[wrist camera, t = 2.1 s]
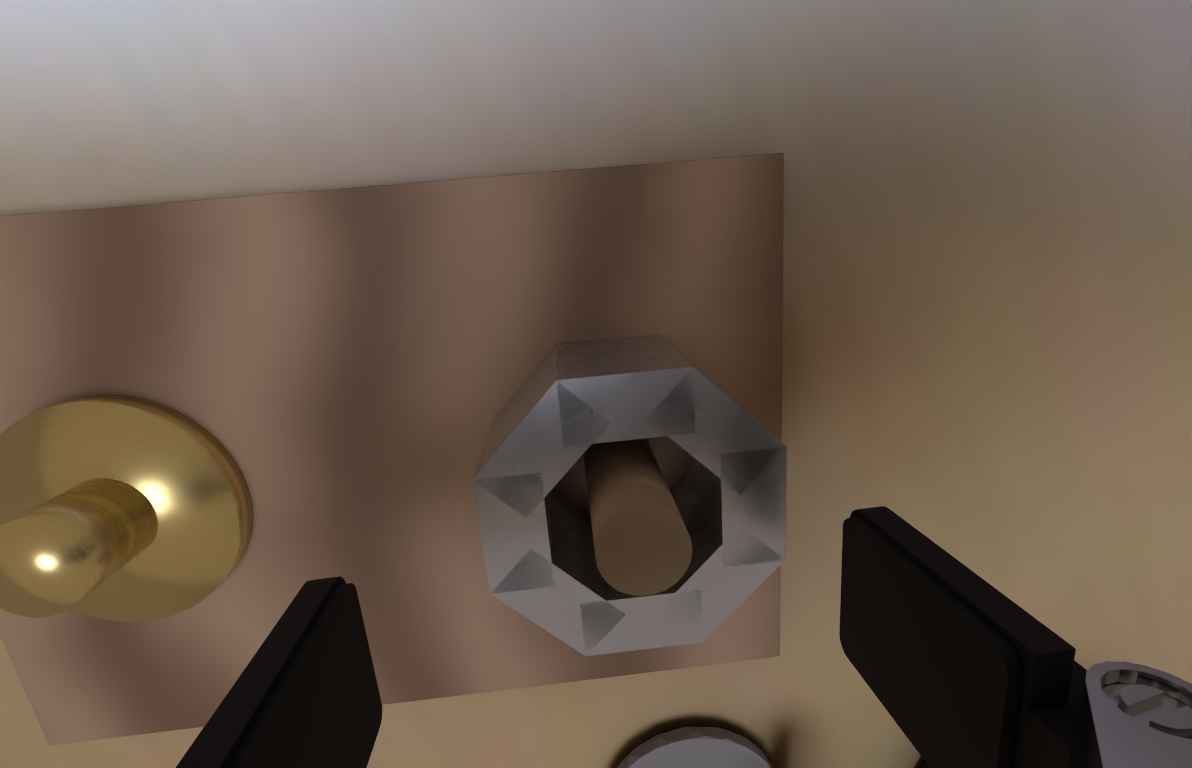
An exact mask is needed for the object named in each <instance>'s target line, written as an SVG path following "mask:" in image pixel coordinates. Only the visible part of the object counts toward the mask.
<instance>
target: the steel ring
mask: <svg viewBox="0 0 1192 768" xmlns="http://www.w3.org/2000/svg"><path fill="white" fill-rule="evenodd" d="M663 436H668V437H669V438H670V439H672V440H673V441H674V442H675V443H677V444H678V445H679V446H680V447H682V448H683V452H684V474H683V475H682V476H681V477H680V478H679V479H678V480H677V481H676V482H675V483H674V484H673V485H672V486H671V488H670V489H669V490H670V492H671V495H672V497H673V499H674V501H675V504H676V506H677V508H678V511H679V513H680V515H681V517H682V520H683V522H684V524H685V526H686V529H687V531H688V533H689V536H690V538H691V542H692V558H691V562H690V565H689V567H688V569H687V571H686V572H685V574H684V575H683V576H682V578H681V579H680V580H679V581H678V582H677V583H675V584H674V585H673V586H671V587H670V588H668V589H666V590H664V591H662V592H659V593H656V594H652V595H646V596H636V595H629V594H626V593H623V592H620V591H618V590H616V589H615V588H613V587H612V586H610V585H609V584H608V583H607V582H606V581H605V580H604V578H603V577H602V576H601V574H600V572H599V570H598V567H597V563H596V556H595V548H594V540H593V531H592V523H591V515H590V513H589V512H587V511H586V510H584V509H583V508H582V507H580V506H579V505H578V504H576V503H575V502H573V501H572V500H571V499H569V498H568V497H567V496H565V495H564V494H563V493H561V492H560V491H558V490H557V489H556V488H554V486H555V485H556V484H557V483H558V482H559V481H560V480H561V478H562V477H563V476H564V475H565V474H566V473H567V472H568V470H569V469H570V468H571V467H572V466H573V465H574V464H575V462H576V461H577V460H578V459H579V458H580V457H581V456H582V455H583V453H584V452H585V451H586V450H587V449H588V448H589V447H590V445H591V444H595V443H605V442H614V441H624V440H634V439H643V438H653V437H663ZM472 481H473V488H474V494H475V500H476V507H477V513H478V520H479V526H480V532H481V539H482V545H483V551H484V558H485V564H486V571H487V577H488V583H489V590H490V594H491V595H493V596H494V597H496V598H497V599H499V600H500V601H502V602H503V603H505V604H506V605H508V606H509V607H511V608H512V609H514V610H516V611H517V612H519V613H520V614H522V615H523V616H525V617H526V618H528V619H529V620H531V621H532V622H534V623H535V624H537V625H538V626H540V627H542V628H543V629H545V630H546V631H548V632H549V633H551V634H552V635H554V636H555V637H557V638H558V639H560V640H561V641H563V642H564V643H566V644H568V645H569V646H571V647H572V648H574V649H575V650H577V651H578V652H580V653H581V654H583V655H584V656H593V655H601V654H610V653H618V652H626V651H634V650H643V649H651V648H659V647H668V646H676V645H684V644H693V643H701V642H704V641H705V640H706V639H707V638H708V637H709V636H710V635H711V634H712V633H713V632H714V631H715V630H716V629H717V628H718V627H719V626H720V625H721V624H722V623H723V622H724V621H725V620H726V619H727V618H728V617H729V616H730V615H731V614H732V613H733V612H734V611H735V610H736V609H737V608H738V607H739V606H740V605H741V604H742V603H743V602H744V601H745V600H746V599H747V598H748V597H749V596H750V595H751V594H752V593H753V592H754V591H755V590H756V589H757V588H758V587H759V586H760V585H761V584H762V583H763V582H764V581H765V580H766V579H767V578H768V577H769V576H770V575H771V574H772V573H773V572H774V571H775V570H776V569H777V568H778V567H779V566H780V565H781V564H782V563H783V562H784V561H785V539H786V446H785V445H784V444H783V443H782V442H781V441H780V440H779V439H778V438H776V437H775V436H774V435H773V434H772V433H771V432H770V431H769V430H768V429H767V428H766V427H765V426H764V425H762V424H761V423H760V422H759V421H758V420H757V419H756V418H755V417H754V416H753V415H752V414H751V413H749V412H748V411H747V410H746V409H745V408H744V407H743V406H742V405H741V404H740V403H739V402H738V401H736V400H735V399H734V398H733V397H732V396H731V395H730V394H729V393H728V392H726V391H725V390H724V389H723V388H722V387H721V386H719V385H718V384H717V383H716V382H715V381H713V380H712V379H711V378H710V377H709V376H708V375H706V374H705V373H704V372H703V371H702V370H701V369H699V368H698V367H697V366H696V365H695V364H694V363H692V362H691V361H690V360H689V359H688V358H687V357H685V356H684V355H683V354H682V353H681V352H680V351H678V350H677V349H676V348H675V347H674V346H673V345H671V344H670V343H669V342H668V341H667V340H666V339H664V338H663V337H662V336H661V335H660V334H654V335H643V336H633V337H622V338H612V339H601V340H591V341H580V342H570V343H559V344H556V345H555V346H554V347H553V349H552V350H551V351H550V352H549V353H548V355H547V356H546V357H545V358H544V359H543V361H542V362H541V363H540V364H539V365H538V367H537V368H536V369H535V370H534V371H533V373H532V374H531V375H530V376H529V377H528V379H527V380H526V381H525V382H524V383H523V385H522V386H521V387H520V388H519V389H518V391H517V392H516V393H515V394H514V395H513V397H512V398H511V399H510V400H509V401H508V403H507V404H506V405H505V406H504V407H503V409H502V410H501V411H500V412H499V413H498V415H497V416H496V417H495V418H494V419H493V421H492V424H491V427H490V430H489V433H488V436H487V439H486V442H485V444H484V447H483V450H482V453H481V456H480V459H479V462H478V465H477V468H476V470H475V473H474V476H473V479H472Z"/></svg>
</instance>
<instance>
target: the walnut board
mask: <svg viewBox="0 0 1192 768" xmlns="http://www.w3.org/2000/svg"><path fill="white" fill-rule="evenodd" d="M783 165H784V153H777V154H765V155H752V156H740V157H728V158H715V159H703V160H691V161H678V162H666V163H654V164H642V165H629V166H617V167H605V168H592V169H580V170H568V171H555V172H543V173H531V174H518V175H506V176H494V177H482V178H469V179H457V180H445V181H432V182H420V183H408V184H395V185H383V186H371V187H358V188H346V189H334V190H322V191H309V192H297V193H285V194H272V195H260V196H248V197H235V198H223V199H211V200H198V201H186V202H174V203H162V204H149V205H137V206H125V207H112V208H100V209H88V210H75V211H63V212H51V213H38V214H26V215H14V216H2V217H0V435H1V434H2V433H3V432H4V431H5V430H6V429H7V428H8V427H9V426H11V425H12V424H14V423H15V422H17V421H18V420H20V419H21V418H23V417H25V416H27V415H30V414H32V413H34V412H36V411H39V410H42V409H45V408H48V407H51V406H54V405H57V404H59V403H62V402H66V401H69V400H72V399H76V398H79V397H85V396H91V395H107V394H114V395H126V396H133V397H138V398H143V399H147V400H150V401H154V402H157V403H160V404H163V405H165V406H168V407H170V408H172V409H174V410H177V411H179V412H181V413H182V414H184V415H186V416H188V417H189V418H191V419H193V420H194V421H196V422H197V423H199V424H200V425H201V426H203V427H204V428H205V429H207V430H208V431H209V432H210V433H211V434H212V435H214V436H215V437H216V438H217V439H218V440H219V441H220V442H221V443H222V444H223V445H224V447H225V448H226V449H227V450H228V451H229V452H230V454H231V455H232V457H233V458H234V459H235V461H236V462H237V464H238V465H239V467H240V469H241V471H242V473H243V475H244V477H245V479H246V482H247V485H248V487H249V490H250V493H251V498H252V503H253V515H254V521H253V531H252V535H251V539H250V543H249V546H248V548H247V550H246V552H245V554H244V556H243V558H242V559H241V561H240V563H239V564H238V566H237V567H236V568H235V569H234V570H233V571H232V572H231V573H230V575H229V576H228V577H227V578H226V579H225V580H224V581H223V582H222V583H221V584H220V585H219V586H218V587H217V588H216V589H215V590H214V591H213V592H212V593H211V594H210V595H209V596H207V597H206V598H205V599H204V600H203V601H201V602H199V603H198V604H196V605H194V606H193V607H191V608H189V609H187V610H185V611H182V612H180V613H178V614H175V615H172V616H168V617H165V618H161V619H155V620H149V621H135V622H128V621H113V620H106V619H99V618H95V617H91V616H87V615H83V614H81V613H78V612H75V611H72V610H69V609H67V610H65V611H63V612H61V613H59V614H57V615H53V616H49V617H41V618H31V617H23V616H19V615H15V614H12V613H9V612H7V611H4V610H2V609H0V636H1V638H2V640H3V643H4V645H5V647H6V649H7V652H8V654H9V656H10V658H11V661H12V663H13V665H14V667H15V670H16V672H17V674H18V676H19V679H20V681H21V683H22V685H23V688H24V690H25V692H26V694H27V697H28V699H29V701H30V703H31V706H32V708H33V710H34V712H35V714H36V717H37V719H38V721H39V723H40V726H41V728H42V730H43V732H44V735H45V737H46V739H47V741H48V744H49V745H57V744H65V743H73V742H81V741H89V740H98V739H106V738H114V737H122V736H130V735H138V734H147V733H155V732H163V731H171V730H179V729H188V728H196V727H204V726H205V725H206V724H207V722H208V721H209V719H210V718H211V717H212V715H213V714H214V712H215V711H216V709H217V708H218V707H219V705H220V704H221V702H222V701H223V699H224V698H225V696H226V695H227V694H228V692H229V691H230V689H231V688H232V686H233V685H234V684H235V682H236V681H237V679H238V678H239V676H240V675H241V674H242V672H243V671H244V669H245V668H246V666H247V665H248V664H249V662H250V661H251V659H252V658H253V656H254V655H255V654H256V652H257V651H258V649H259V648H260V646H261V645H262V644H263V642H264V641H265V639H266V638H267V636H268V635H269V634H270V632H271V631H272V629H273V628H274V626H275V625H276V623H277V622H278V621H279V619H280V618H281V616H282V615H283V613H284V612H285V611H286V609H287V608H288V606H289V605H290V603H291V602H292V601H293V599H294V598H295V596H296V595H297V593H298V592H299V591H300V589H301V588H302V586H303V585H304V584H305V583H306V582H307V581H309V580H315V579H323V578H331V577H339V576H341V577H343V578H344V580H345V582H346V584H348V583H353V584H354V585H355V587H356V590H357V594H358V598H359V603H360V607H361V612H362V616H363V621H364V625H365V630H366V634H367V639H368V643H369V648H370V652H371V657H372V661H373V666H374V670H375V675H376V679H377V684H378V688H379V693H380V697H381V703H382V705H384V704H392V703H400V702H408V701H416V700H425V699H433V698H441V697H449V696H457V695H465V694H474V693H482V692H490V691H498V690H506V689H514V688H523V687H531V686H539V685H547V684H555V683H564V682H572V681H580V680H588V679H596V678H604V677H613V676H621V675H629V674H637V673H645V672H653V671H662V670H670V669H678V668H686V667H694V666H702V665H711V664H719V663H727V662H735V661H743V660H752V659H760V658H768V657H776V656H780V566H779V567H778V568H777V569H776V570H775V571H774V572H773V573H772V574H771V575H770V576H769V577H768V578H767V579H766V580H765V581H764V582H763V583H762V584H761V585H760V586H759V587H758V588H757V589H756V590H755V591H754V592H753V593H752V594H751V595H750V596H749V597H748V598H747V599H746V600H745V601H744V602H743V603H742V604H741V605H740V606H739V607H738V608H737V609H736V610H735V611H734V612H733V613H732V614H731V615H730V616H729V617H728V618H727V619H726V620H725V621H724V622H723V623H722V624H721V625H720V626H719V627H718V628H717V629H716V630H715V631H714V632H713V633H712V634H711V635H710V636H709V637H708V638H707V639H706V640H705V641H704V642H701V643H693V644H684V645H676V646H668V647H659V648H651V649H643V650H634V651H626V652H618V653H610V654H601V655H593V656H584V655H583V654H581V653H580V652H578V651H577V650H575V649H574V648H572V647H571V646H569V645H568V644H566V643H564V642H563V641H561V640H560V639H558V638H557V637H555V636H554V635H552V634H551V633H549V632H548V631H546V630H545V629H543V628H542V627H540V626H538V625H537V624H535V623H534V622H532V621H531V620H529V619H528V618H526V617H525V616H523V615H522V614H520V613H519V612H517V611H516V610H514V609H512V608H511V607H509V606H508V605H506V604H505V603H503V602H502V601H500V600H499V599H497V598H496V597H494V596H493V595H491V594H490V590H489V583H488V577H487V571H486V564H485V558H484V551H483V545H482V539H481V532H480V526H479V520H478V513H477V507H476V500H475V494H474V488H473V481H472V479H473V476H474V473H475V470H476V468H477V465H478V462H479V459H480V456H481V453H482V450H483V447H484V444H485V442H486V439H487V436H488V433H489V430H490V427H491V424H492V421H493V419H494V418H495V417H496V416H497V415H498V413H499V412H500V411H501V410H502V409H503V407H504V406H505V405H506V404H507V403H508V401H509V400H510V399H511V398H512V397H513V395H514V394H515V393H516V392H517V391H518V389H519V388H520V387H521V386H522V385H523V383H524V382H525V381H526V380H527V379H528V377H529V376H530V375H531V374H532V373H533V371H534V370H535V369H536V368H537V367H538V365H539V364H540V363H541V362H542V361H543V359H544V358H545V357H546V356H547V355H548V353H549V352H550V351H551V350H552V349H553V347H554V346H555V345H556V344H559V343H570V342H580V341H591V340H601V339H612V338H622V337H633V336H643V335H654V334H660V335H661V336H662V337H663V338H664V339H666V340H667V341H668V342H669V343H670V344H671V345H673V346H674V347H675V348H676V349H677V350H678V351H680V352H681V353H682V354H683V355H684V356H685V357H687V358H688V359H689V360H690V361H691V362H692V363H694V364H695V365H696V366H697V367H698V368H699V369H701V370H702V371H703V372H704V373H705V374H706V375H708V376H709V377H710V378H711V379H712V380H713V381H715V382H716V383H717V384H718V385H719V386H721V387H722V388H723V389H724V390H725V391H726V392H728V393H729V394H730V395H731V396H732V397H733V398H734V399H735V400H736V401H738V402H739V403H740V404H741V405H742V406H743V407H744V408H745V409H746V410H747V411H748V412H749V413H751V414H752V415H753V416H754V417H755V418H756V419H757V420H758V421H759V422H760V423H761V424H762V425H764V426H765V427H766V428H767V429H768V430H769V431H770V432H771V433H772V434H773V435H774V436H775V437H776V438H778V439H779V440H780V441H781V415H782V290H783ZM647 440H648V442H649V445H650V447H651V449H652V451H653V454H654V456H655V458H656V461H657V463H658V465H659V467H660V470H661V472H662V474H663V476H664V479H665V481H666V483H667V486H668V488H669V489H670V488H671V486H672V485H673V484H674V483H675V482H676V481H677V480H678V479H679V478H680V477H681V476H682V475H683V474H684V452H683V448H682V447H680V446H679V445H678V444H677V443H675V442H674V441H673V440H672V439H670V438H669V437H668V436H663V437H653V438H647ZM554 488H556V489H557V490H558V491H560V492H561V493H563V494H564V495H565V496H567V497H568V498H569V499H571V500H572V501H573V502H575V503H576V504H578V505H579V506H580V507H582V508H583V509H584V510H586V511H587V512H589V513H590V506H589V498H588V489H587V481H586V473H585V464H584V453H583V455H582V456H581V457H580V458H579V459H578V460H577V461H576V462H575V464H574V465H573V466H572V467H571V468H570V469H569V470H568V472H567V473H566V474H565V475H564V476H563V477H562V478H561V480H560V481H559V482H558V483H557V484H556V485H555V486H554Z"/></svg>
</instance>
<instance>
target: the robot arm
mask: <svg viewBox="0 0 1192 768" xmlns="http://www.w3.org/2000/svg"><path fill="white" fill-rule="evenodd" d="M840 641H841V645H842V648H843V650H844V653H845V654H846V656H847V658H848V659H849V660H850V662H851V663H852V664H853V666H854V667H855V668H856V670H857V671H858V672H859V674H860V675H861V676H862V678H863V679H864V680H865V682H866V683H867V684H868V686H869V687H870V688H871V690H872V691H873V692H874V694H875V695H876V696H877V698H878V699H879V700H880V702H881V703H882V704H883V706H884V707H885V708H886V710H887V711H888V712H889V714H890V715H891V716H892V718H893V719H894V720H895V722H896V723H897V724H898V726H899V727H900V728H901V730H902V731H903V732H904V734H905V735H906V736H907V738H908V739H909V740H910V742H911V743H912V744H913V746H914V747H915V748H916V750H917V751H918V752H919V754H920V755H921V756H922V758H923V759H924V760H925V762H926V763H927V764H928V766H929V767H930V768H1192V684H1191V683H1189V682H1187V681H1184V680H1182V679H1180V678H1178V677H1176V676H1174V675H1171V674H1169V673H1166V672H1163V671H1160V670H1157V669H1154V668H1151V667H1148V666H1144V665H1139V664H1134V663H1129V662H1114V661H1107V662H1103V663H1099V664H1094V665H1093V666H1092V667H1091V668H1090V669H1089V670H1088V671H1087V670H1086V669H1085V668H1083V667H1082V666H1081V665H1079V664H1078V663H1077V662H1075V661H1074V656H1075V650H1076V649H1075V648H1074V647H1072V646H1071V645H1070V644H1068V643H1067V642H1066V641H1064V640H1063V639H1062V638H1060V637H1059V636H1058V635H1056V634H1055V633H1054V632H1052V631H1051V630H1050V629H1048V628H1047V627H1046V626H1044V625H1043V624H1042V623H1040V622H1039V621H1038V620H1036V619H1035V618H1034V617H1032V616H1031V615H1030V614H1029V613H1027V612H1026V611H1025V610H1023V609H1022V608H1021V607H1019V606H1018V605H1017V604H1015V603H1014V602H1013V601H1011V600H1010V599H1009V598H1007V597H1006V596H1005V595H1003V594H1002V593H1001V592H999V591H998V590H997V589H995V588H994V587H993V586H991V585H990V584H989V583H987V582H986V581H985V580H983V579H982V578H981V577H979V576H978V575H977V574H975V573H974V572H973V571H971V570H970V569H969V568H967V567H966V566H965V565H963V564H962V563H961V562H959V561H958V560H957V559H955V558H954V557H953V556H951V555H950V554H949V553H947V552H946V551H945V550H943V549H942V548H941V547H939V546H938V545H937V544H935V543H934V542H933V541H931V540H930V539H929V538H927V537H926V536H925V535H923V534H922V533H921V532H919V531H918V530H917V529H915V528H914V527H913V526H911V525H910V524H909V523H907V522H906V521H905V520H903V519H902V518H901V517H899V516H898V515H897V514H895V513H894V512H893V511H891V510H890V509H889V508H887V507H885V506H881V507H873V508H865V509H858V510H854V511H853V512H852V514H851V516H850V518H847V519H846V520H845V521H844V524H843V544H842V576H841V608H840ZM381 719H382V703H381V697H380V693H379V688H378V684H377V679H376V675H375V670H374V666H373V661H372V657H371V652H370V648H369V643H368V639H367V634H366V630H365V625H364V621H363V616H362V612H361V607H360V603H359V598H358V594H357V590H356V587H355V585H354V584H353V583H348V584H346V582H345V580H344V578H343V577H341V576H339V577H331V578H323V579H315V580H309V581H307V582H306V583H305V584H304V585H303V586H302V588H301V589H300V591H299V592H298V593H297V595H296V596H295V598H294V599H293V601H292V602H291V603H290V605H289V606H288V608H287V609H286V611H285V612H284V613H283V615H282V616H281V618H280V619H279V621H278V622H277V623H276V625H275V626H274V628H273V629H272V631H271V632H270V634H269V635H268V636H267V638H266V639H265V641H264V642H263V644H262V645H261V646H260V648H259V649H258V651H257V652H256V654H255V655H254V656H253V658H252V659H251V661H250V662H249V664H248V665H247V666H246V668H245V669H244V671H243V672H242V674H241V675H240V676H239V678H238V679H237V681H236V682H235V684H234V685H233V686H232V688H231V689H230V691H229V692H228V694H227V695H226V696H225V698H224V699H223V701H222V702H221V704H220V705H219V707H218V708H217V709H216V711H215V712H214V714H213V715H212V717H211V718H210V719H209V721H208V722H207V724H206V725H205V727H204V728H203V729H202V731H201V732H200V734H199V735H198V737H197V738H196V739H195V741H194V742H193V744H192V745H191V747H190V748H189V749H188V751H187V752H186V754H185V755H184V757H183V758H182V759H181V761H180V762H179V764H178V765H177V767H176V768H366V767H367V764H368V761H369V758H370V755H371V752H372V749H373V746H374V743H375V740H376V737H377V734H378V731H379V728H380V724H381Z"/></svg>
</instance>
